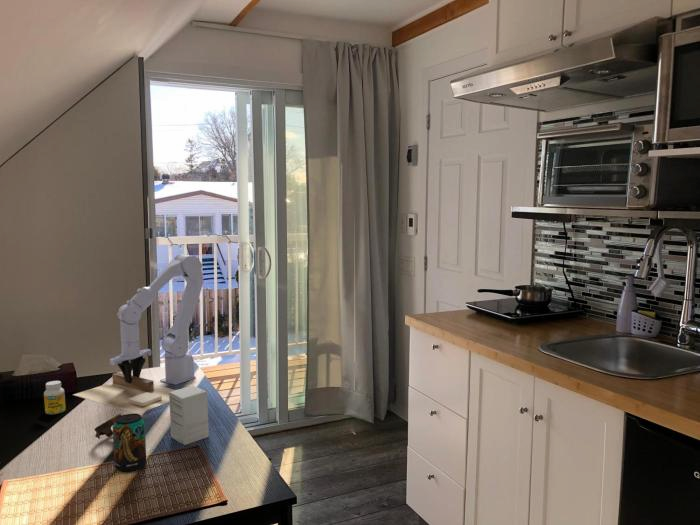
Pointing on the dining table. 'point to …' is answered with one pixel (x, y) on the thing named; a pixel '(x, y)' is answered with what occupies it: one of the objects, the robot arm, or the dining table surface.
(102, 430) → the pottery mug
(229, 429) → the dining table surface
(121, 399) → the board
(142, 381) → the brown wooden bar
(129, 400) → the tile
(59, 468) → the dining table surface
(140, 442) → the beverage can
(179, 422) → the supplement box
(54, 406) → the supplement bottle
